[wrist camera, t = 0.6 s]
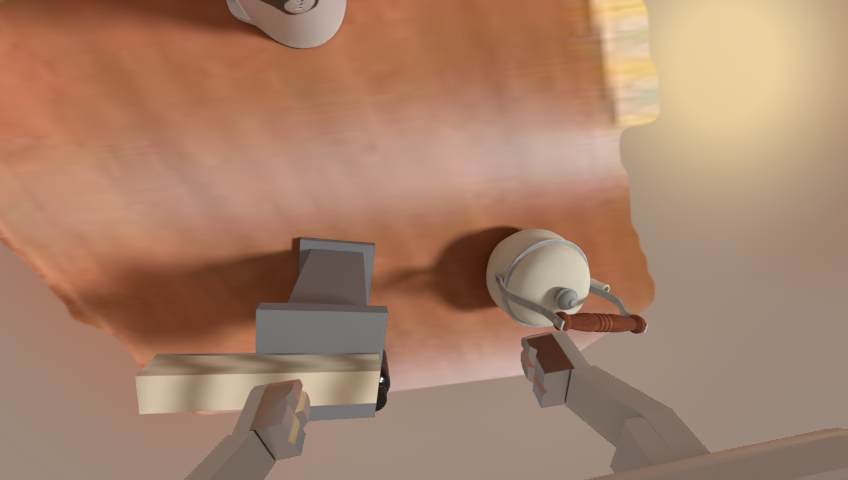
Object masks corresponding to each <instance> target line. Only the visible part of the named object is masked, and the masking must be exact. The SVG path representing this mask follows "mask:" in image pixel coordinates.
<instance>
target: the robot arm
mask: <svg viewBox="0 0 848 480" xmlns="http://www.w3.org/2000/svg"><path fill="white" fill-rule="evenodd" d="M226 1H227V5H228V8H229V10H230V12H231V13H232V15H233V16H234V17H235V18H237V19H239V20H241V21H243V22H246V23H249V24H252V25H255V26H257V27H258V28H260V29H261V30H262V31H264V32H265V33H266V34H267V35H269V36H270V37H271V38H273V39H274V40H276V41H278V42H280V43H282V44H284V45H287V46H290V47H295V48H312V47H316V46H319V45H321V44H323V43H325V42H326V41H328V40H329V39H330V38H331V37H332V36H333V35H334V34H335V33H336V32H337V30H338V29H339V27H340V25H341V23H342V21H343V18H344V14H345V8H346V2H347V0H235V1H234V0H226ZM521 345H522V347H523V349H524V350H523V351H522V352H521V363H522V368H523V370H524V373H525V375H526V377H527V379H528V380H529V381H531V382H532V383H533V392H534V394H535V396H536V398H537V400H538V402H539V404H540V406H541V408H544V407H551V406H557V405H562V404H565V406H567V407H568V408H569V409H570V410H571V411H573V412H574V413H575V414H576V415H578V416H579V417H580V418H581V419H582V420H583V421H585V422H586V423H587V424H588V425H589V426H591V427H592V428H593V429H594V430H595V431H597V432H598V433H599V434H600V435H602V436H603V437H604V438H605V439H606V440H607V441H609V442H610V443H611V444H612V445H614V446H615V447H616V450H615V453H614V456H613V459H612V462H611V465H610V467H611V468H612V470H613V472H614V473H613V474H609V475H604V476H599V477H594V478H590V479H585V480H848V429H842V428H832V429H823V430H819V431H814V432H810V433H805V434H800V435H795V436H791V437H786V438H781V439H776V440H771V441H767V442H762V443H757V444H752V445H748V446H743V447H738V448H733V449H729V450H723V451H719V452H714V453H710V452H709V451H708V450H707V448H706V447H705V446H704V445H703V444H702V443H701V442H700V440H699V439H698V438H697V437H696V436H695V435H694V434H693V432H691V430H690V429H689V428H688V427H687V426H686V425H685V423H684V422H683V421H682V420H681V419H680V418H679V417H678V416H677V414H676V413H675V412H674V411H673V410H672V409H671V408H669V407H667V406H666V405H664V404H662V403H660V402H658V401H656V400H655V399H653V398H651V397H649V396H648V395H646V394H644V393H643V392H641V391H639V390H637V389H636V388H634V387H632V386H630V385H629V384H627V383H625V382H623V381H622V380H620V379H618V378H616V377H615V376H612V375H611V374H609V373H607V372H606V371H604V370H602V369H600V368H599V367H596V366H590V364H589V363H588V362H587V360H586V359H585V358H584V356H583V355H582V353H581V352H580V351H579V349H578V348H577V347H576V345H575V344H574V342H573V341H572V340H571V338H570V337H569V336H568V334H567V333H566V332H565V331H564V330H559V331H553V332H549V333H548V332H547V333H542V334H537V335H532V336H526V337H523V338H522V341H521ZM302 387H303V384H302V382H301V380H300V379H296V380H289V381H283V382H277V383H270V384H265V385H259V386H254V388H253V389H252V390H251V391H250V393H249V396H248V398H247V400H246V403H245V405H244V407H243V410H242V412H241V414H240V417H239V419H238V422H237V424H236V426H235V428H234V431H233V433H232V435H227V436H226V437H225V438H224V439H223V440H222V441H221V442H220V443H219V444H218V445H217V447H216V448H215V449H214V450H213V451H212V452H211V453H210V454H209V455H208V456H207V457H206V458H205V459H204V460H203V461H202V462H201V463H200V464H199V465H198V466H197V467H196V468H195V469H194V470H193V471H192V472H191V473H190V474H189V475H188V476H187V477H186V478H185V479H184V480H264V479H265V477H266V476H267V474H268V473H269V471H270V470H271V469H272V467H273V466H274V464H275V461H277V460H281V459H286V458H291V457H295V456H299V455H301V453H302V448H303V444H304V439H305V435H306V434H305V432H304V430H303V427H304V426H305V425H306V423H307V422H308V421H309V416H310V399H309V396H308V394H307V393H306V392H304V391H302Z"/></svg>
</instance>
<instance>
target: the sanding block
mask: <svg viewBox="0 0 848 480" xmlns="http://www.w3.org/2000/svg"><path fill="white" fill-rule="evenodd" d="M135 378H136V387H137V396H138V404H139V414H150V413H172V412H194V411H215V410H237V409H243V407H244V405H245V403H246V400H247V398H248V396H249V393H250V391H251V390H252V389H253V388H254V386H259V385H265V384H270V383H277V382H283V381H289V380H296V379H300V380H301V382H302V384H303V387H302V391H304V392H306V393H307V394H308V396H309V399H310V406H322V405H344V404H365V403H376V401H377V393H378V386H379V378H380V362H379V353H245V354H157V355H156V356H155V357H154V358H153V359H152V360H151V361H150V362H149V363H148V364H147V365H146V366H145V367H144V368H143V369H142V370H141V371H140V372H139V373H138V374H137V375H136V377H135Z"/></svg>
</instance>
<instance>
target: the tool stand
mask: <svg viewBox="0 0 848 480" xmlns="http://www.w3.org/2000/svg"><path fill="white" fill-rule="evenodd" d="M374 251H375V243H365V242H353V241H340V240H328V239H316V238H304V237H301V239H300V253H299V275H298V280H297V282H296V284H295V287H294V289H293V291H292V293H291V295H290V298H289V300H288V302H287V303H269V302H260V304H259V306H258V307H257V309H256V353H379V362H380V371H381V364H382V356H383V349H384V341H385V334H386V326H387V318H388V309H387V306H368V304H369V295H370V286H371V277H372V268H373V260H374ZM379 379H380V378H379ZM378 387H379V386H378ZM377 394H378V393H377ZM376 402H377V401H376ZM375 409H376V403H365V404H344V405H322V406H310V416H309V421H317V420H333V419H351V418H367V417H374V416H375Z"/></svg>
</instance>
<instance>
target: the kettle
mask: <svg viewBox="0 0 848 480" xmlns="http://www.w3.org/2000/svg"><path fill="white" fill-rule="evenodd" d="M486 282H487V287H488V291H489V293H490V295H491V297H492V299H493V300H494V302H495V303H496V304H497V305H498V306H499V307H500V308H501V309H502V310H503V311H505V312H506V313H508V314H509V316H510V317H511V318H512V319H513V320H514V321H516V322H517V323H519V324H521V325H524V326H527V327H534V328H538V327H546V326H553V325H554V327H555V328H556V329H557V330H564V331H567V330H568V329H574V330H579V331H586V332H592V331H594V332H624V331H631V332H633V333H636V334H637V333H642V332H646V329H647V327H648V324H647V323H645V321H644V319H643V318H642V317H640V316H638V315H632V314H630V313H629V312H628V311H627V310H626V308H625V306H624V303H623V302H622V300H621V299H619V298H618V297H617V296H615V295H613V294H611V293H609V292H608V291H609V289H610V287H609V285H606V284H604V283H601V282H599V281H596V280H594V279H592V278H590V273H589V266H588V262H587V259H586V257H585V255H584V253H583V252H582V251H581V249H580V248H579V247H578V246H576V245H575V244H573V243H572V242H570V241H567V240H565V239H563V238H562V237H561V236H559V235H557V234H555V233H553V232H551V231H548V230H543V229H527V230H523V231H519V232H517V233H515V234H513V235H511V236H509V237H507V238H505V239H504V240H502V241H501V242H500V243H499V244H498V245H497V246H496V247H495V249H494V250H493V252H492V253H491V255H490V258H489V261H488V266H487V272H486ZM588 292H591V293H593V294H596V295H598V296H600V297H602V298H604V299H606V300H608V301H610V302H612V303H613V304H615V305H616V306H617V307H618V309H619V311H620V314H621V315H615V314H596V313H593V314H591V313H577V314H575V313H576V312H577V311H578V310H579V309H580V308H581V306H582V305H583V303H584V301H585V300H586V297H587V295H588Z"/></svg>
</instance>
